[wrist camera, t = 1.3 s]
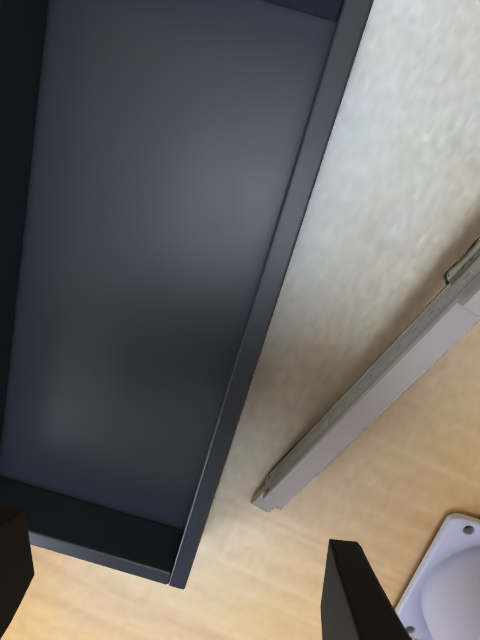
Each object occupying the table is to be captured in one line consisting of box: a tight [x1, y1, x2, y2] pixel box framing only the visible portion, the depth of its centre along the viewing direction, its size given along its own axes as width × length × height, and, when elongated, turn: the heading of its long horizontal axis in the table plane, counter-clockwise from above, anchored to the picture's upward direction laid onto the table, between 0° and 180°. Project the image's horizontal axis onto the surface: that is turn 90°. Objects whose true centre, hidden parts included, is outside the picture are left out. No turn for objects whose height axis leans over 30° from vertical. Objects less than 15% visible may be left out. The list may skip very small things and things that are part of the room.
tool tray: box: [0, 0, 374, 589], centre depth 16 cm, size 12×25×3 cm, turn 164°
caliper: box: [250, 237, 480, 512], centre depth 14 cm, size 20×1×6 cm, turn 149°
